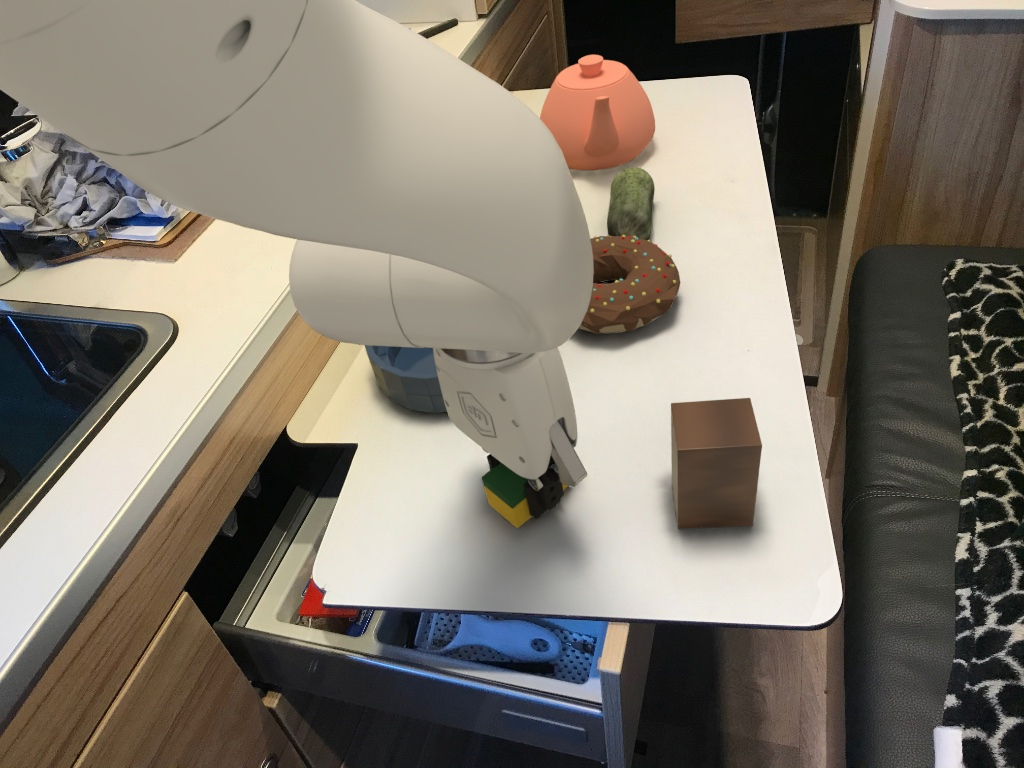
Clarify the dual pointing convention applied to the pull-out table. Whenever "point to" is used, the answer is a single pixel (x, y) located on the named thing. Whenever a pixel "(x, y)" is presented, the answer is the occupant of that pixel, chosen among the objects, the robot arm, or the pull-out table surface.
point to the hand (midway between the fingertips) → (529, 490)
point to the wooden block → (714, 462)
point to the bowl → (408, 376)
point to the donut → (629, 284)
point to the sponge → (507, 494)
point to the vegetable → (631, 204)
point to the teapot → (598, 114)
